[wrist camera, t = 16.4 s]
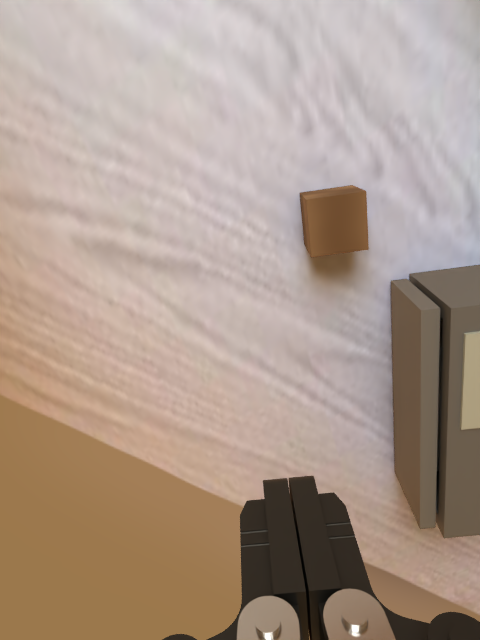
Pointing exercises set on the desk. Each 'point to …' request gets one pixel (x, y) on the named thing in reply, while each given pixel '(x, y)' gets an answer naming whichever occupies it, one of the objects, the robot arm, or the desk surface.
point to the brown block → (334, 220)
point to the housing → (458, 397)
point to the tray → (416, 396)
